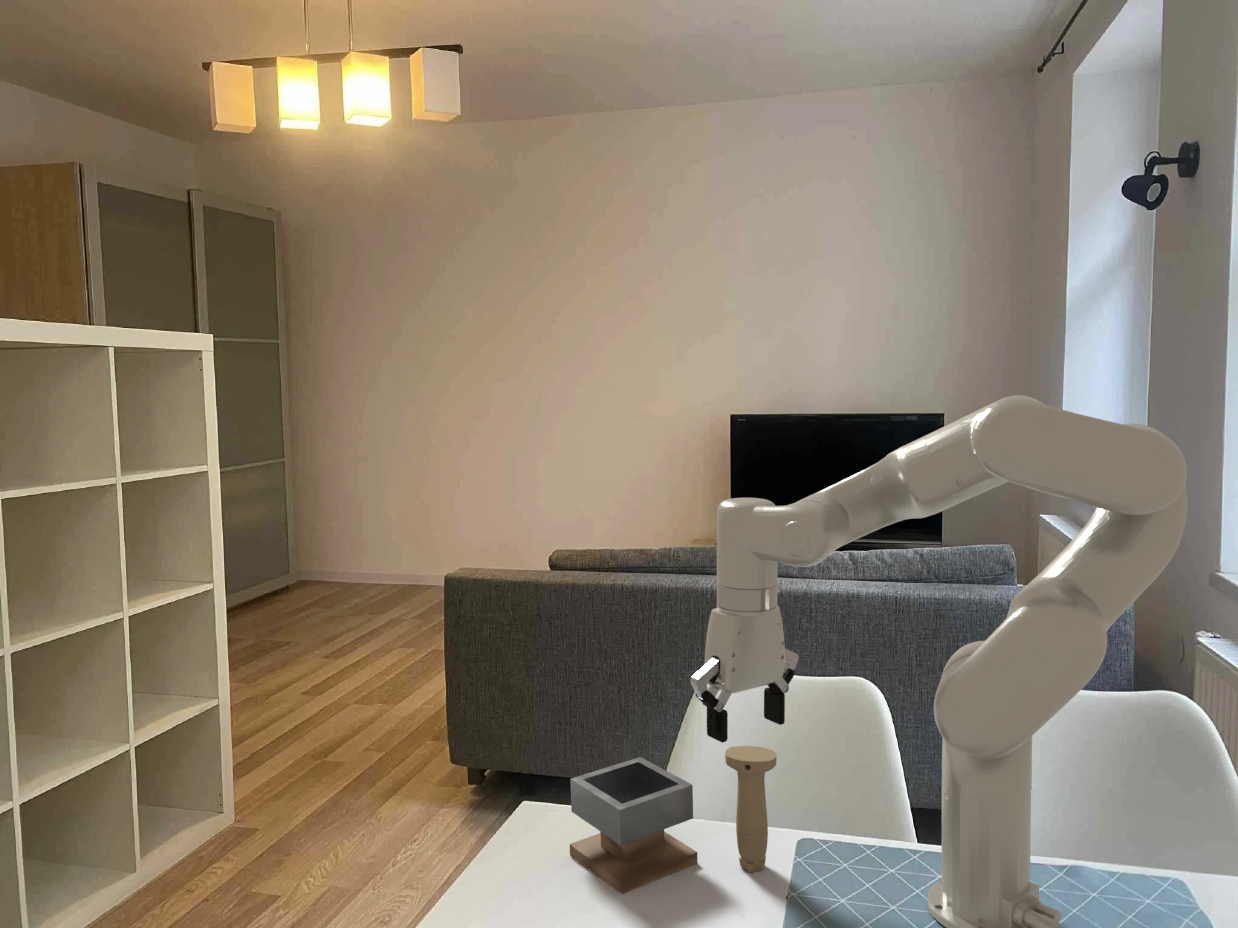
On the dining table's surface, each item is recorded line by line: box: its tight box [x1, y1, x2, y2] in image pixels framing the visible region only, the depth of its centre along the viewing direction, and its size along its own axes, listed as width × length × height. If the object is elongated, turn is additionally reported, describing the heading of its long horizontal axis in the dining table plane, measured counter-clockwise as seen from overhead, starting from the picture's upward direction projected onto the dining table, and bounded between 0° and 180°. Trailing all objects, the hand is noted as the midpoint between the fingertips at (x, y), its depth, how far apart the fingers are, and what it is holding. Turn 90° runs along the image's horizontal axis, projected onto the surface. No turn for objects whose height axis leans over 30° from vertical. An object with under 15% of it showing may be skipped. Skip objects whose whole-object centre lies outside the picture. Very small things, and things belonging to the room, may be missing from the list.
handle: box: [724, 745, 777, 873], centre depth 119 cm, size 5×6×15 cm
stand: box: [569, 829, 699, 895], centre depth 122 cm, size 12×12×6 cm
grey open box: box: [569, 756, 694, 845], centre depth 122 cm, size 11×11×4 cm
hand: (746, 729), depth 118 cm, fingers open, 9 cm apart
